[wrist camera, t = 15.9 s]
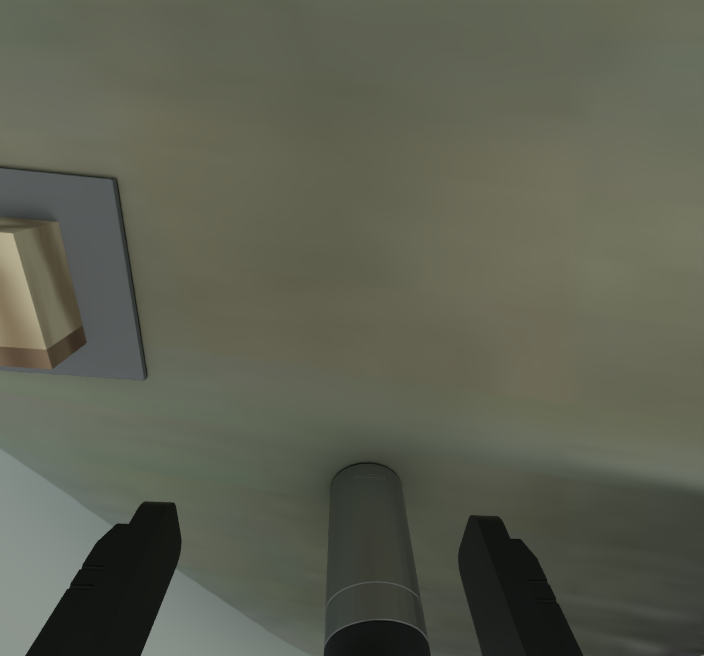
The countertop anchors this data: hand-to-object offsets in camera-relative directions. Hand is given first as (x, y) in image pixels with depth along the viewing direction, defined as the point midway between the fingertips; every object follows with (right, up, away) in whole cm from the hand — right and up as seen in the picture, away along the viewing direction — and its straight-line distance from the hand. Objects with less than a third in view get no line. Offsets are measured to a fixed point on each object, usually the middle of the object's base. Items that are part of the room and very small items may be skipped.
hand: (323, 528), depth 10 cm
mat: (-28, +10, +25) cm, 39 cm away
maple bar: (-28, +10, +25) cm, 38 cm away
